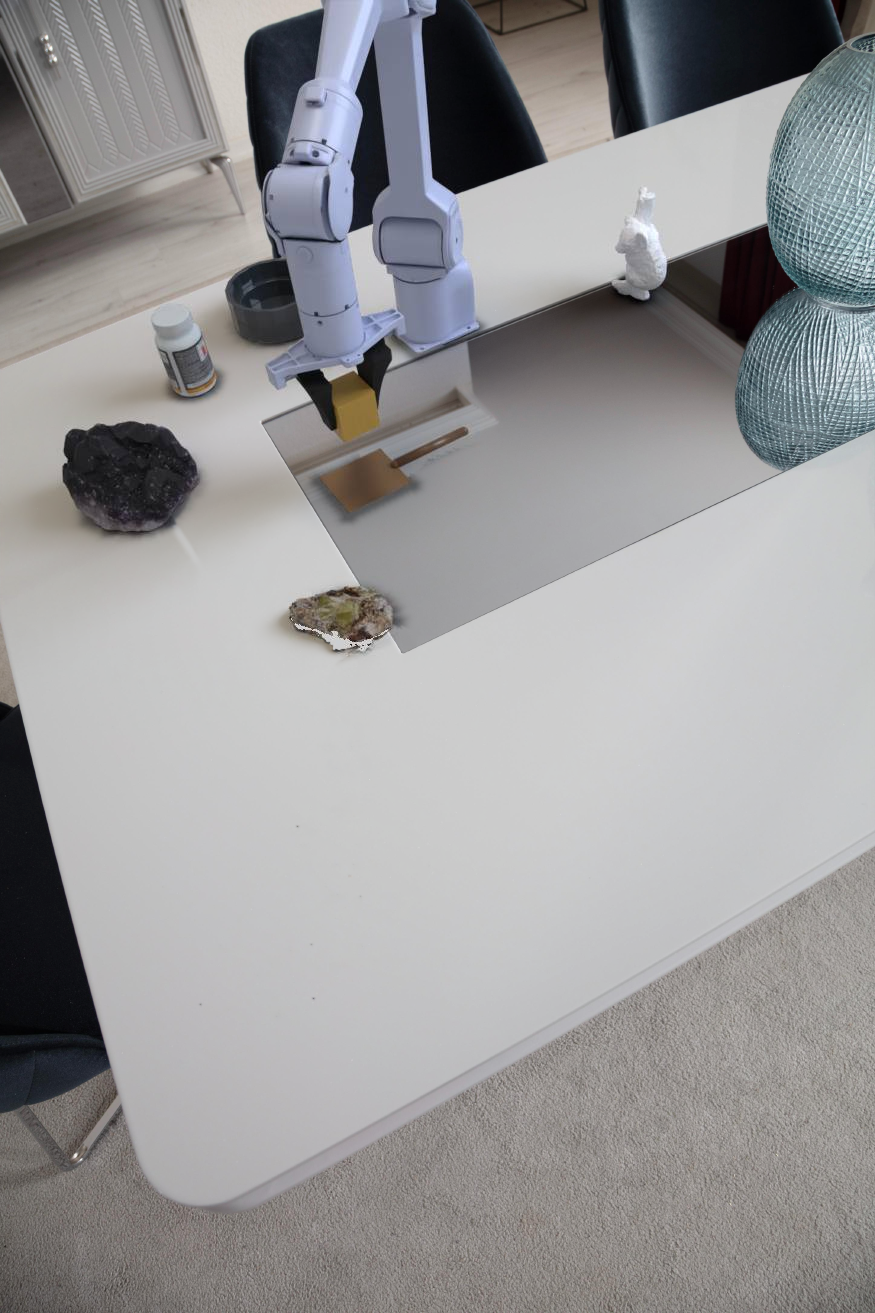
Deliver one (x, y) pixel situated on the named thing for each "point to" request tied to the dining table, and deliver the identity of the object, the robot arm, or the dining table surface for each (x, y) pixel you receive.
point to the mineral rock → (344, 613)
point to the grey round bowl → (264, 302)
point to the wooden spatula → (377, 473)
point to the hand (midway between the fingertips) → (350, 415)
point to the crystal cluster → (127, 474)
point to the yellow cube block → (353, 406)
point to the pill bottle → (183, 350)
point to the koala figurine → (641, 251)
